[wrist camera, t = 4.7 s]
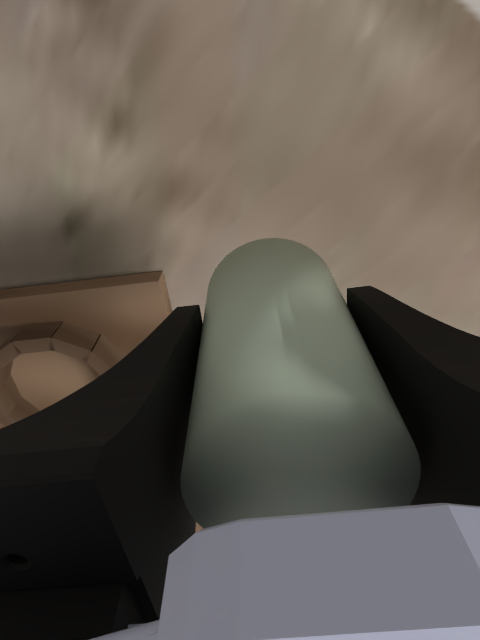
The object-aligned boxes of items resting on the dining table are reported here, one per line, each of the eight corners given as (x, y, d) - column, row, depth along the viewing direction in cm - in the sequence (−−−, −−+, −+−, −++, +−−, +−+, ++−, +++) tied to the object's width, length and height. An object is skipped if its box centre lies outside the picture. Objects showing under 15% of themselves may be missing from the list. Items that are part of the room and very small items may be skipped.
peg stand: (219, 518, 30) (214, 656, 23) (55, 531, 30) (-1, 669, 23) (162, 270, 20) (121, 372, 13) (-73, 298, 21) (-232, 409, 14)
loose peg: (335, 346, 14) (410, 548, 8) (217, 358, 14) (201, 564, 8) (334, 230, 12) (433, 381, 6) (196, 246, 12) (156, 408, 6)
